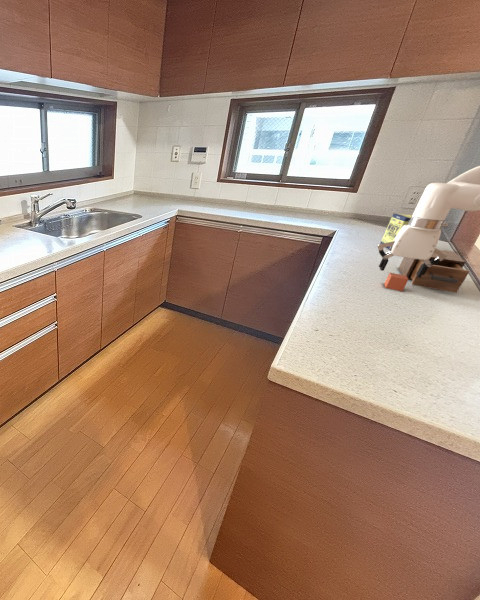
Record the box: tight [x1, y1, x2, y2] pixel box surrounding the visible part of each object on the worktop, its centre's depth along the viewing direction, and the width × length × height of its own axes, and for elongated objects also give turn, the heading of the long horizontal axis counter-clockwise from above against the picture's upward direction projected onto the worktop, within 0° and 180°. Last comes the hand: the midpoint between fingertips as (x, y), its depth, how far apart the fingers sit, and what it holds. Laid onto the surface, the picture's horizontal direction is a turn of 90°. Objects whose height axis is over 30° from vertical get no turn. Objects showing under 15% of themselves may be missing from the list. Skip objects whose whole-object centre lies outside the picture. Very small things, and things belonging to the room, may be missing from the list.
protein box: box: [379, 213, 443, 249], centre depth 155 cm, size 10×16×16 cm
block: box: [383, 272, 410, 292], centre depth 113 cm, size 4×4×4 cm
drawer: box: [410, 259, 470, 294], centre depth 114 cm, size 18×11×8 cm, turn 145°
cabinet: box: [398, 249, 466, 281], centre depth 122 cm, size 15×13×10 cm
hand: (399, 272), depth 112 cm, fingers open, 9 cm apart
